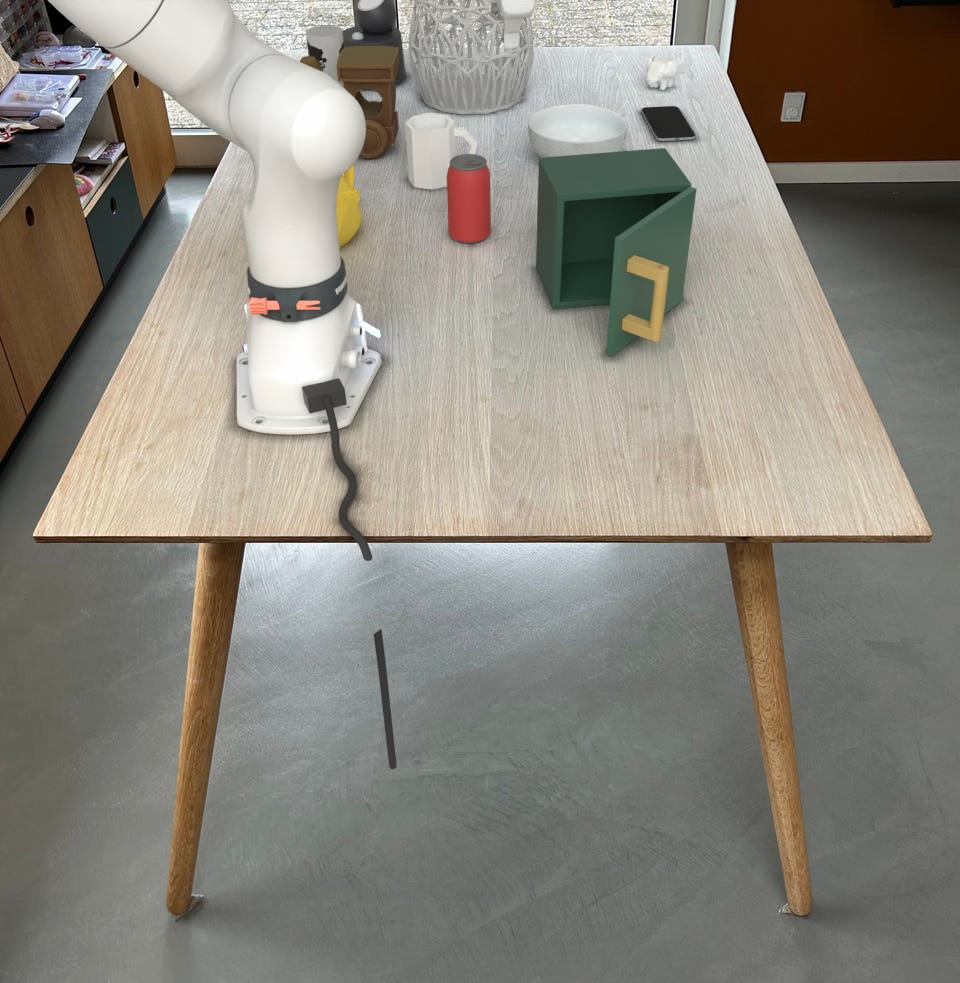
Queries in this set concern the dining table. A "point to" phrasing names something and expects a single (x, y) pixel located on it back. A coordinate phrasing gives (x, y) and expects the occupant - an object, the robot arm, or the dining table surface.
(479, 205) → the beer can
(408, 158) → the mug
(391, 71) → the wooden toy train
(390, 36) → the light fixture
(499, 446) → the dining table surface
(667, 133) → the smartphone
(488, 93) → the vase
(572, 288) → the cupboard
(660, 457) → the dining table surface
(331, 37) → the cup
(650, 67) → the elephant figurine
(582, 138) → the cereal bowl
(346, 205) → the teapot
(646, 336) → the door
